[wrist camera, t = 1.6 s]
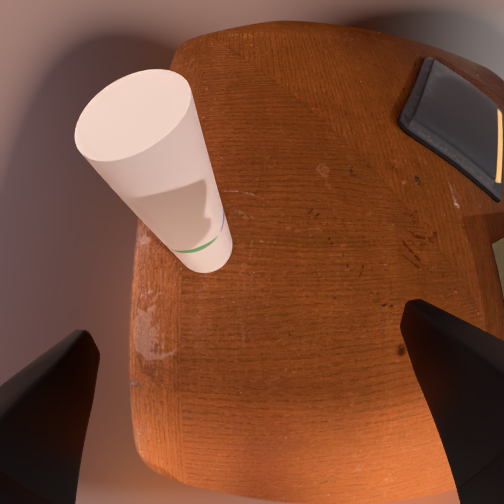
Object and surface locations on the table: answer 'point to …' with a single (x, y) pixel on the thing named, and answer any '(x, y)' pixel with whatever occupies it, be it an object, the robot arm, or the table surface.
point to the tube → (158, 163)
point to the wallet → (457, 124)
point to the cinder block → (499, 260)
